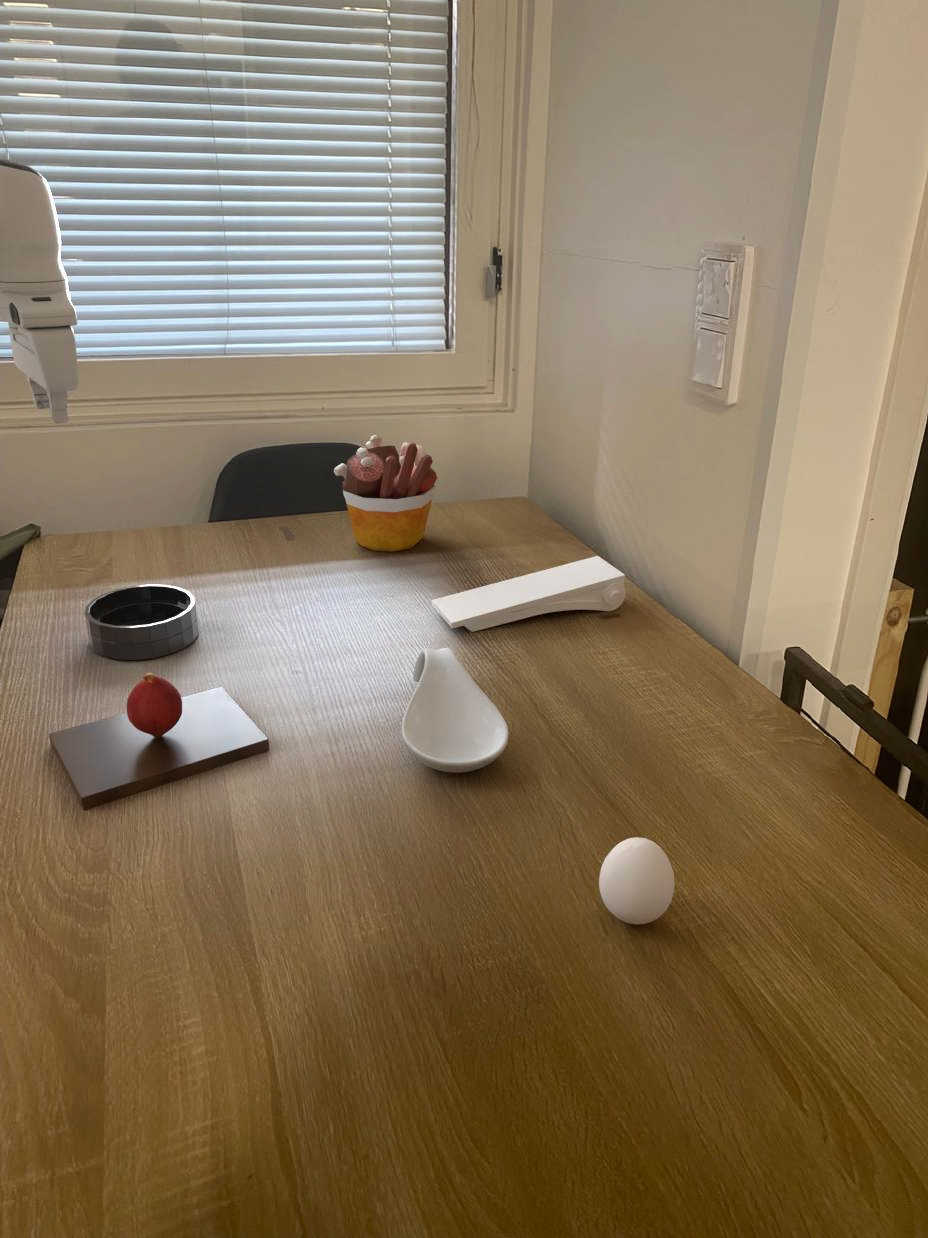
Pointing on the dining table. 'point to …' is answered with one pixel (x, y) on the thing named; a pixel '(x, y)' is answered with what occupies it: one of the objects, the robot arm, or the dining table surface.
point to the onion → (154, 706)
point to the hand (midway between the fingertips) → (51, 414)
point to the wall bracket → (536, 595)
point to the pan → (141, 622)
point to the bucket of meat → (388, 494)
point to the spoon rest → (451, 717)
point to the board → (155, 748)
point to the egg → (637, 881)
